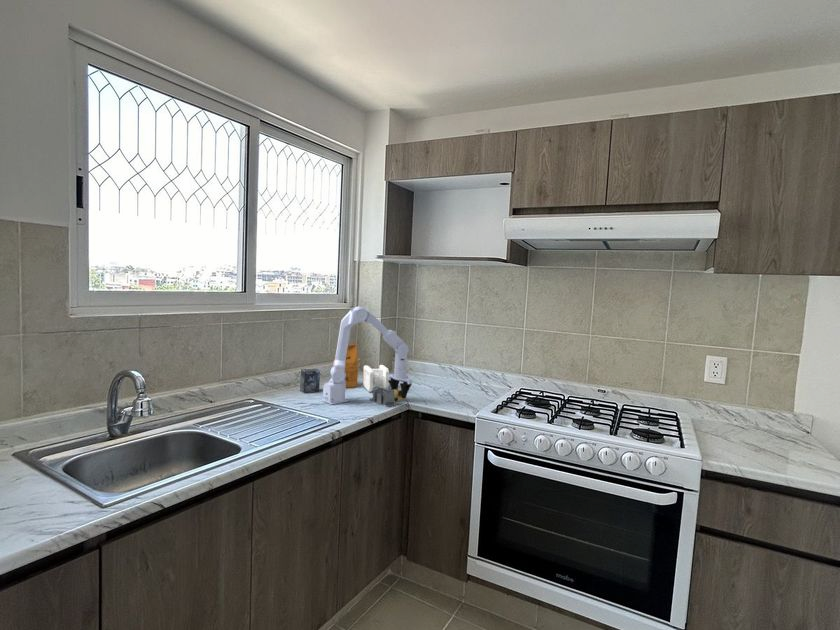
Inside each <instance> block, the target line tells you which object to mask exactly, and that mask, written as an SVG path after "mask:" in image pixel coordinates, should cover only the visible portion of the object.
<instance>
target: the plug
mask: <svg viewBox="0 0 840 630" xmlns="http://www.w3.org/2000/svg"><path fill="white" fill-rule="evenodd" d="M394 390H395V393H394V402H401V401H402V400H403V401H405V399H406V398H402V391H401V387H398V389H394ZM383 399H384V394H383V393H377V402H376V404H378V405H383Z"/></svg>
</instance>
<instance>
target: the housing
mask: <svg viewBox="0 0 840 630" xmlns="http://www.w3.org/2000/svg"><path fill="white" fill-rule="evenodd" d="M384 390H385V391H384ZM377 393H383V394H384V399H383V404H382V405H383V406H384V405H385V406H384V407H386V408H387V407H388V408H392V406H393V407H397V406H396V405H398V403H397V402H395V401H394V393H395V390H393V389H391V387H390V388H389V387H388V388H387V387H383V386H379V387H375V389H374V388H373V390H372V398H371V397H370V398H369V401H371V402H373V403H377Z"/></svg>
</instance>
